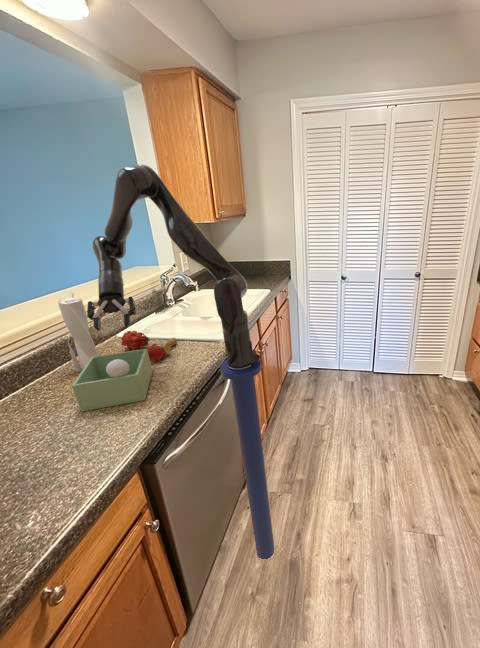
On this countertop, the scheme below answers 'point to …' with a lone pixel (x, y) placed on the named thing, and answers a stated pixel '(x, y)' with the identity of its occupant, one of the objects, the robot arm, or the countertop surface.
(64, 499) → the countertop surface
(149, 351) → the kendama
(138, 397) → the bin
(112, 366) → the lollipop
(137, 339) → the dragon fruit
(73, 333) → the skyscraper
